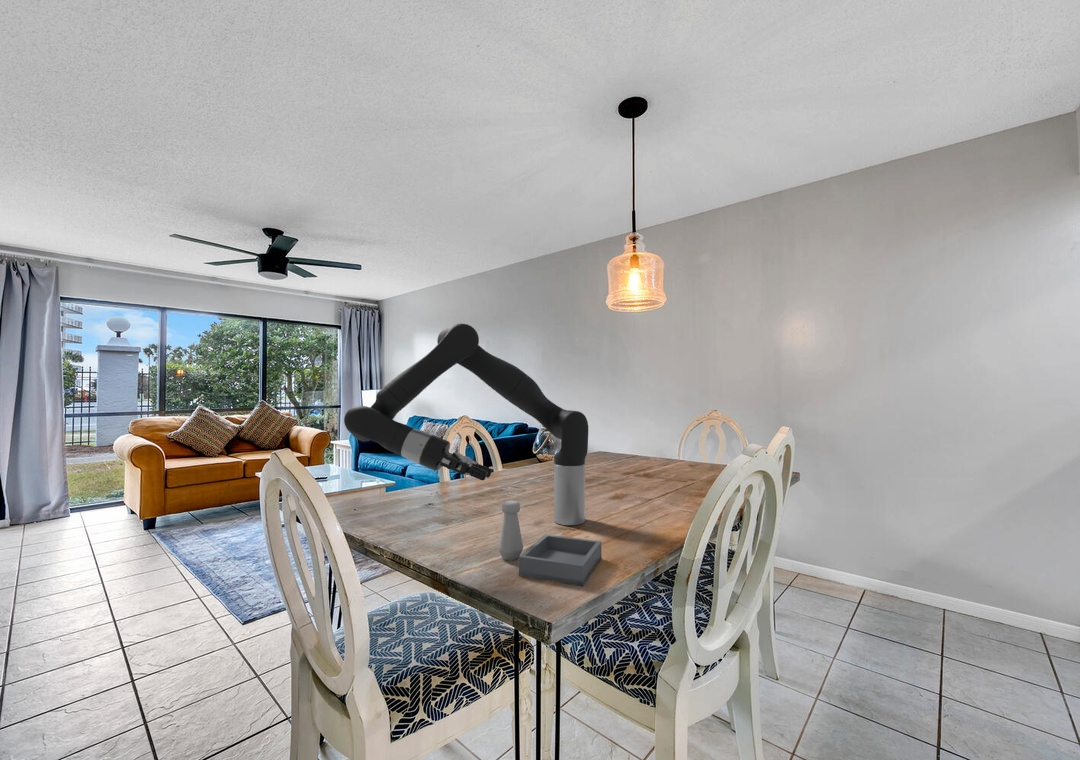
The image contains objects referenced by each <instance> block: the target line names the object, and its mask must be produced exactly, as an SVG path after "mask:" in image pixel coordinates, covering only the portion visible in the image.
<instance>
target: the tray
mask: <svg viewBox="0 0 1080 760" xmlns="http://www.w3.org/2000/svg"><path fill="white" fill-rule="evenodd" d="M601 560H602V540H601V541H600V540H593V539H586V538H577V537H570V536H569V537H568V536H561V535H554V534H553V535H552V534H547V533H546V534H544V535H543V536H541V537H540V538H539V539H538V540H537V541H536V542H534V543H533V544H532V545H531V546H530V547H528V548H527V549H526V550H525V551H524V552H523V553H521V554H520V556H519V559H518V577H524V578H530V579H535V580H536V579H537V580H543V581H548V582H554V583H561V584H567V585H571V586H572V585H573V586H579V587H584V585H585V584H586V582H587V581H588V580H589V578H590V577H591V575H592V573H593V572H594V571H595V570H596V567H597V566H598V565H599V563H600V562H601Z"/></svg>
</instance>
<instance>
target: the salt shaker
mask: <svg viewBox="0 0 1080 760" xmlns="http://www.w3.org/2000/svg"><path fill="white" fill-rule="evenodd" d="M501 511H502V513H503V519H502V524H501V529H500V535H499V542H498V547H497V548H498V552H499V554H500V556H501V558H502V559H503V560H504V561H516V560H519V556H520V555H521V554H522V552H523V550H524V543H523V538H522V533H521V528H520V522H519V516H518V513H519V512H520V511H521V505H520V503H519V501H516V500H506V501H504V502H503V503H501Z"/></svg>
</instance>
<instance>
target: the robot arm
mask: <svg viewBox="0 0 1080 760" xmlns="http://www.w3.org/2000/svg"><path fill="white" fill-rule="evenodd" d="M479 341H480V336H479V333H478V331H477V330H476V328H474V327H473V326H472V325H470V324H466V323H456V324H455V323H454V324H452V325H449V326H447V327H445V328H444V329H442V330H441V331H440V332H439V334H438V336H437V344H436V346H435V347H434V348H433V349H432V350H430V351H429V352H428V353H427V354H426V355H424V356H423V357H422V358H420V359H419V360H418V361H416V362H415V363H414V364H412V365H411V366H409V367H408V368H406V369H405V370H403V371H402V372H400V373H399V374H398V375H396V377H394V378H393V379H392V380H391V381H389V382H388V383H387V384H385V385H384V386H383V387H382V388H381V389H380V390H379V391H378V392H377V393H376V395H375V396H376V397H375V402H374V403H373V404H372V405H371V406H365V405H355V406H353V407H351V408H349V409H348V410H347V412H346V413H345V415H344V419H343V424H344V426H345V428H346V430H347V431H348V432H349V433H350V434H351V435H352V436H353V437H354V438H355V439H356V440H357V441H360V442H370V441H372V442H375V443H377V444H379V445H380V446H381V447H383V448H384V449H385V450H388V452H391V453H394V454H397V456H398V455H399V456H401V457H403V458H405V459H407V460H408V461H411V462H413V463H415V464H418V465H419V466H423V467H425V468H427V469H429V470H432V471H434V472H438V471H439V470H440V469H441V468H442V467H444V468H445V469H447V470H450V471H454V472H456V473H457V474H460V475H464V476H470V477H473V478H475V479H478V480H480V481H481V482H482V481H485V480H486V478H490V477H491V475H492V472H493V469H492V468H490V467H487V466H485V465H482V464H481V463H479V462H478V461H477V460H476V459H475V460H474V459H472V458H470V457H469V456H466V455H463V453H460V452H458V451H455V452H454V451H453V452H452V453H451V452H450V451H449V450H450V447H451V443H450V441H449V440H446V439H444V438H441V437H440V436H436V435H434V434H433V433H429V432H426V431H424V430H422V429H421V430H420V429H416V428H414V427H411V426H409V425H407V424H404V423H402V422H398V421H397V420H394V419H395V417H396V416H397V414H398V413H399V412H400V411H402V410H403V409H404V408H405V407H407V406H408V405H409V404H410V403H411V402H412V401H413V400H415V398H417V396H419V395H420V394H421V393H422V392H423V391H424V390H426V388H427V387H429V386H430V385H431V384H432V383H434V381H436V379H438V378H439V377H440V376H442V374H444V373H445V372H447V371H448V370H450V369H451V368H452V367H453V366H456V365H460V366H461V367H463V368H464V369H466V370H468V371H470V372H471V373H472V374H474V375H475V376H476V377H478V378H479V379H480V380H481V381H482V382H483V383H484V384H486V385H487V386H488V387H490V388H491V389H492V390H493V391H495V393H497V394H499V396H501V397H502V398H504V399H505V400H506V401H508V402H509V403H510V404H511V405H514V406H515V407H516V408H518V409H519V410H520V411H522V412H524V413H525V414H527V415H528V416H530V417H532V418H533V419H534V420H536V421H537V422H538V423H539V424H540V425H542V426H543V427H544V428H545V429H546V430H547V431H548V432H549V433H550V434H551V435H552V436H553V437H555V438H556V439H559V440H561V441H560V449H559V451H558V452H557V453H555V454H554V457H553V459H554V460H553V461H554V462H553V463H554V464H553V468H554V469H553V470H554V471H553V473H554V477H553V478H554V479H553V480H554V481H553V484H554V485H553V487H554V488H553V506H554V507H553V512H554V513H553V521H554V523H556V524H559V525H561V526H562V525H563V526H579V525H582V524H584V523H586V515H585V514H586V513H585V512H586V510H585V509H586V475H585V473H586V457H587V455H588V450H589V449H588V448H589V447H588V446H589V445H588V444H589V421H588V419H587V417H586V415H585V414H584V413H583V412H581V411H577V410H572V409H571V410H570V409H569V410H567V409H564V408H562V407H560V406H559V405H557V404H556V403H554V402H553V401H551V400H550V399H549V398H547V396H545V394H544V393H543V391H542V390H541V388H540V386H539V385H538V383H537V382H536V381H535V380H534V379H533V378H532V377H530V376H529V375H528V374H527V373H525V372H524V371H522V369H520V368H519V367H517V366H515V365H514V364H512V363H510V362H507V361H506V360H504V359H501V358H499V357H497V356H495V355H494V354H491V353H490V352H488V351H486V350H485V349H484V348H483V347H481V346H480V342H479Z"/></svg>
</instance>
